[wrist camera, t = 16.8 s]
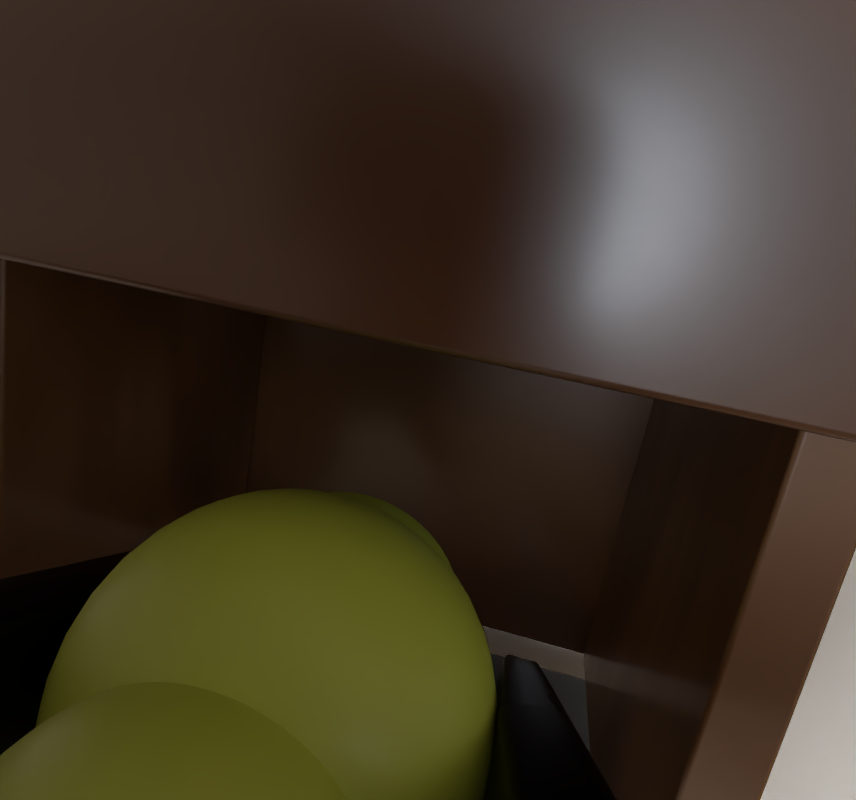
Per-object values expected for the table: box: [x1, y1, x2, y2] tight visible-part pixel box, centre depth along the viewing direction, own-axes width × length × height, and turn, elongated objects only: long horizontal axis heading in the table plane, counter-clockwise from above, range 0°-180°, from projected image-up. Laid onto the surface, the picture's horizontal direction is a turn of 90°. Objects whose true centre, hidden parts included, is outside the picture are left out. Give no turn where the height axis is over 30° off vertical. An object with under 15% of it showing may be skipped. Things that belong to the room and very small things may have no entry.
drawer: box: [0, 259, 856, 800], centre depth 11 cm, size 19×11×8 cm, turn 169°
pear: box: [0, 488, 497, 800], centre depth 6 cm, size 5×5×7 cm
